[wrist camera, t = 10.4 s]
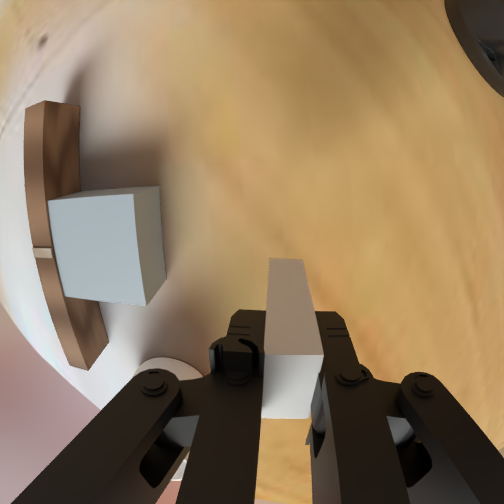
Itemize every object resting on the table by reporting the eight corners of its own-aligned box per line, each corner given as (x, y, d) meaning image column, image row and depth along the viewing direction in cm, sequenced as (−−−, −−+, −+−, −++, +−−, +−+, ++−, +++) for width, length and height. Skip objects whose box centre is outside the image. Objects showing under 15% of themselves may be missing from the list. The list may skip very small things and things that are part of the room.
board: (60, 112, 19) (24, 108, 14) (80, 106, 19) (43, 100, 14) (91, 338, 26) (69, 366, 22) (108, 342, 26) (87, 371, 21)
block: (82, 191, 21) (47, 200, 17) (160, 185, 21) (133, 193, 16) (93, 273, 24) (64, 296, 19) (167, 278, 24) (146, 306, 19)
